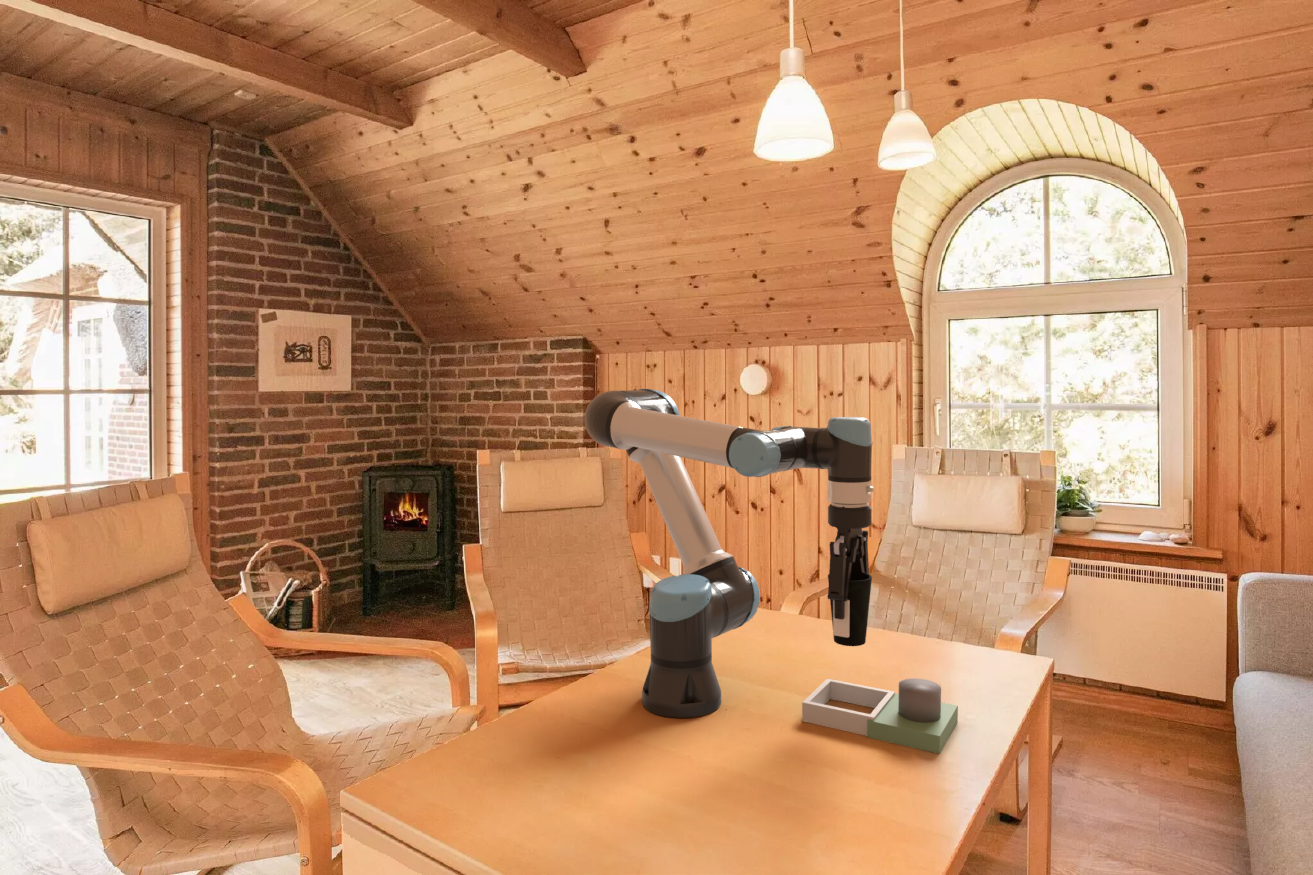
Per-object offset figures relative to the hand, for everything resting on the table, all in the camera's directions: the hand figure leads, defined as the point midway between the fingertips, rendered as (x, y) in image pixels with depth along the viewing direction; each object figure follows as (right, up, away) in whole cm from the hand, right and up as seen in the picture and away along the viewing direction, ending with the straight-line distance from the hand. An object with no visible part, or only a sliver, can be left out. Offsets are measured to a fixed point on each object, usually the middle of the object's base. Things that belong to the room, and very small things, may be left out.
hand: (849, 629), depth 146 cm
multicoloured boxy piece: (+5, -16, -1) cm, 17 cm away
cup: (0, -2, 0) cm, 2 cm away
